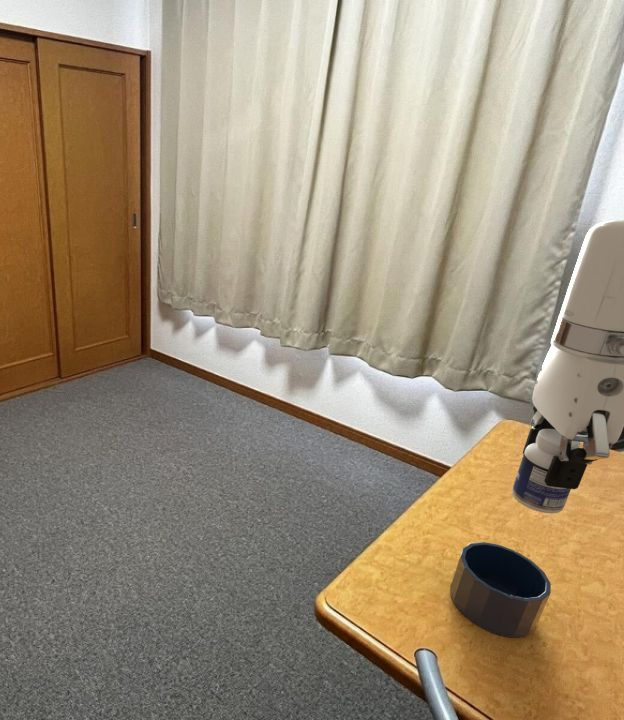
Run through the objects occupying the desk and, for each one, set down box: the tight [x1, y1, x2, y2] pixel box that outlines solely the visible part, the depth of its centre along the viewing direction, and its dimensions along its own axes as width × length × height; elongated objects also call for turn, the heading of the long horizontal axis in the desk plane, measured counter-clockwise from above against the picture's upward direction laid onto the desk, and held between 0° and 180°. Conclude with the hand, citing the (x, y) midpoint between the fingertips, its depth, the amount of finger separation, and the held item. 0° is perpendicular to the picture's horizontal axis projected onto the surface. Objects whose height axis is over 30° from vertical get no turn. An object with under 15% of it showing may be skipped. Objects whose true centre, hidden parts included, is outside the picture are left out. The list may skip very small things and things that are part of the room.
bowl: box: [449, 541, 552, 639], centre depth 62 cm, size 9×9×6 cm
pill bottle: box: [511, 429, 581, 514], centre depth 60 cm, size 5×5×10 cm
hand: (548, 469), depth 60 cm, fingers closed on pill bottle, 5 cm apart
